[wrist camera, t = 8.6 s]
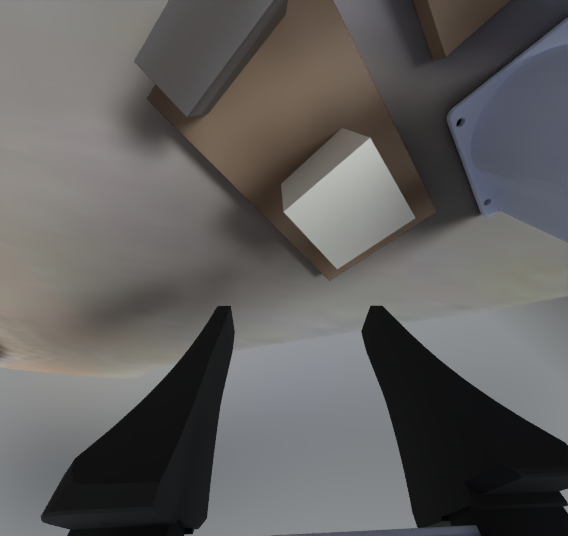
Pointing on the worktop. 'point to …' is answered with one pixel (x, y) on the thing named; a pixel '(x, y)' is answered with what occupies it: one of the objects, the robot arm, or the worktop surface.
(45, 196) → the worktop surface
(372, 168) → the ceramic block
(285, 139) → the walnut strip
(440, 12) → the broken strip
